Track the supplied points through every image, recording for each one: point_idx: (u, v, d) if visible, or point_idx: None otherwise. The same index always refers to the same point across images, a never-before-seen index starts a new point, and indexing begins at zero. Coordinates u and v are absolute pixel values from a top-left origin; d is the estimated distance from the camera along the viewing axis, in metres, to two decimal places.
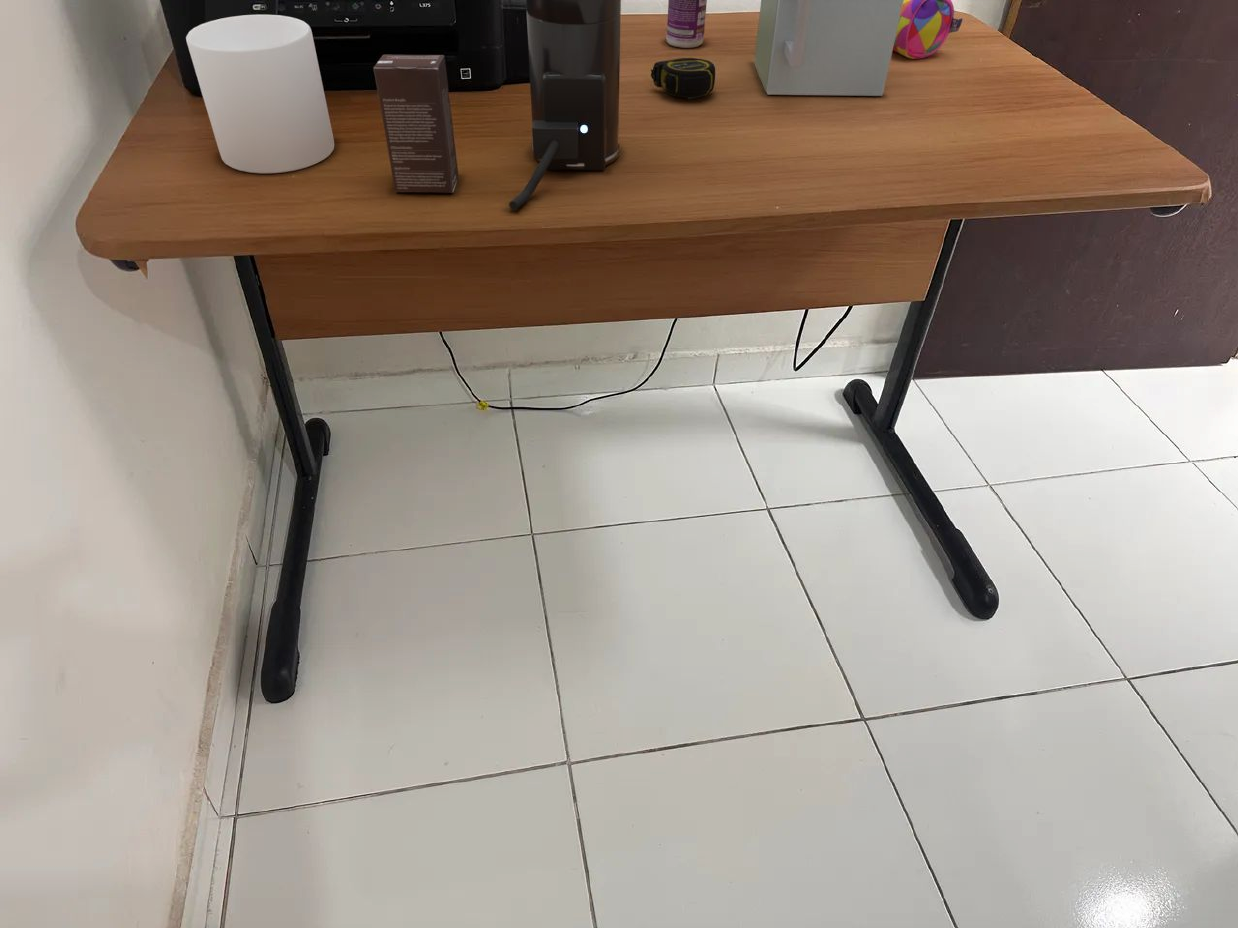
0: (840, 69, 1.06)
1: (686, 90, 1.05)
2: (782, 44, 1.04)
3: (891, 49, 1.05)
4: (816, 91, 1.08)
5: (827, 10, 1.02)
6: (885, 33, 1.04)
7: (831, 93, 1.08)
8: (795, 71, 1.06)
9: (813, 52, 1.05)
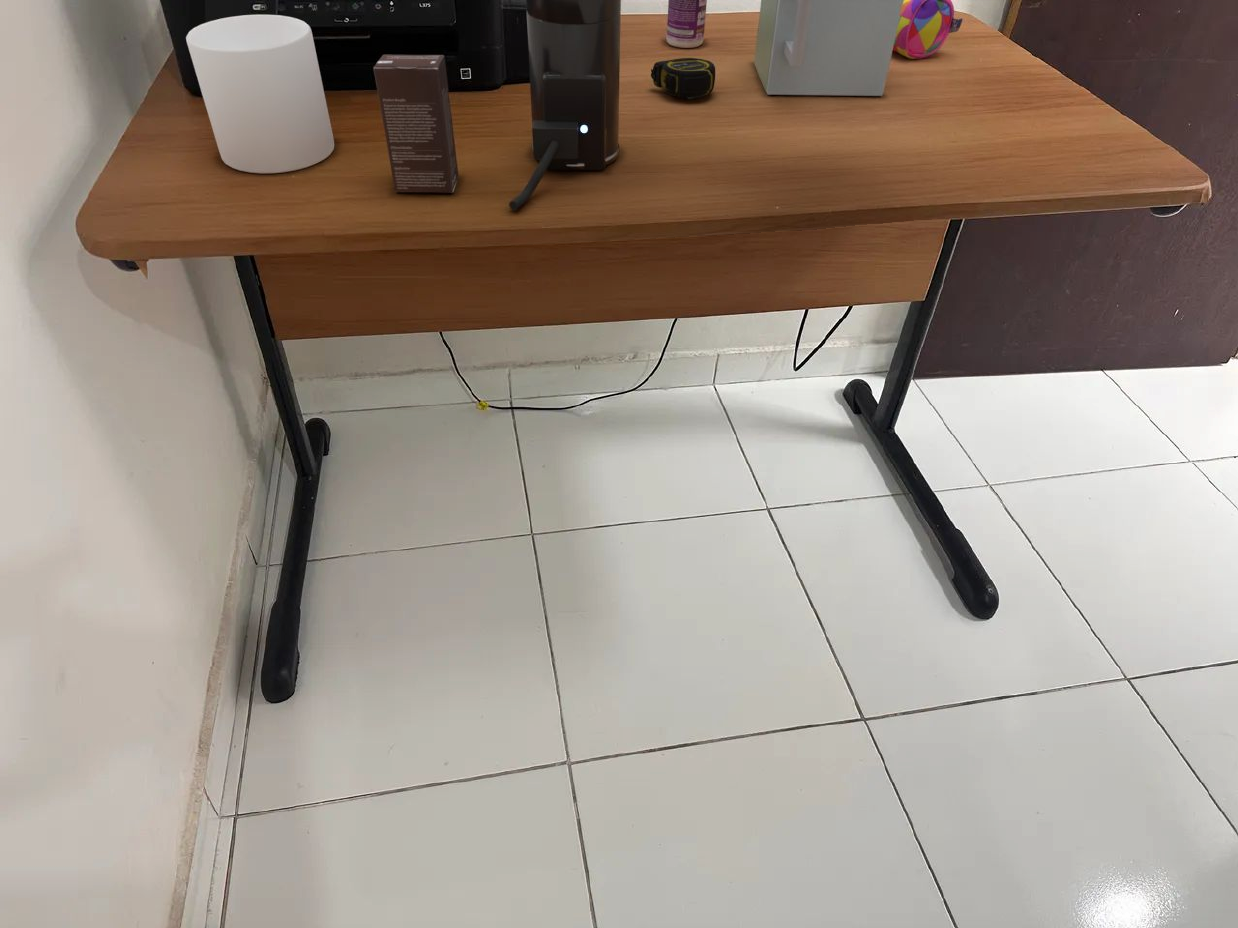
0: (840, 69, 1.06)
1: (686, 90, 1.05)
2: (782, 44, 1.04)
3: (891, 49, 1.05)
4: (816, 91, 1.08)
5: (827, 10, 1.02)
6: (885, 33, 1.04)
7: (831, 93, 1.08)
8: (795, 71, 1.06)
9: (813, 52, 1.05)
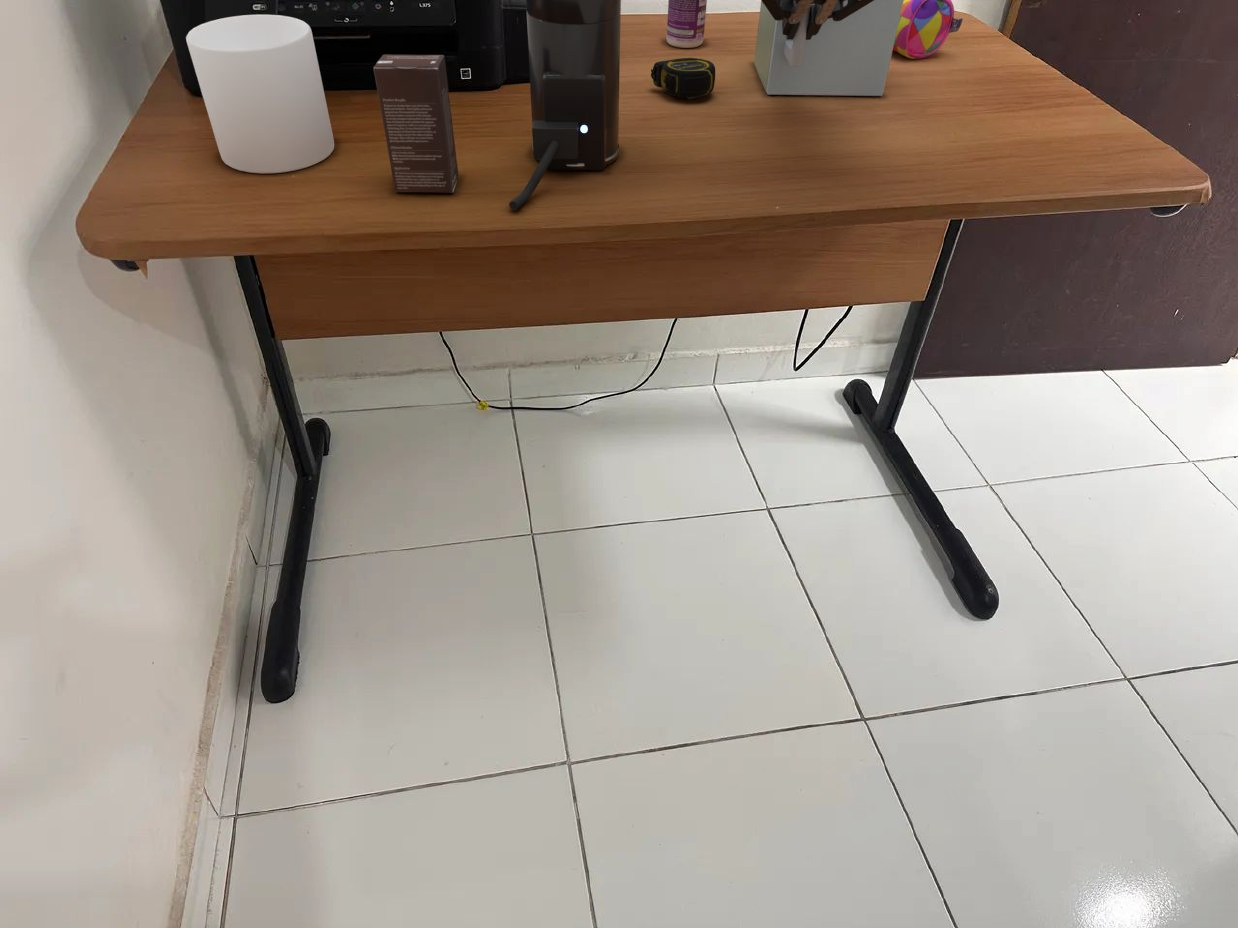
0: (840, 69, 1.06)
1: (686, 90, 1.05)
2: (782, 44, 1.04)
3: (891, 49, 1.05)
4: (816, 91, 1.08)
5: None
6: (885, 33, 1.04)
7: (831, 93, 1.08)
8: (795, 71, 1.06)
9: (813, 52, 1.05)
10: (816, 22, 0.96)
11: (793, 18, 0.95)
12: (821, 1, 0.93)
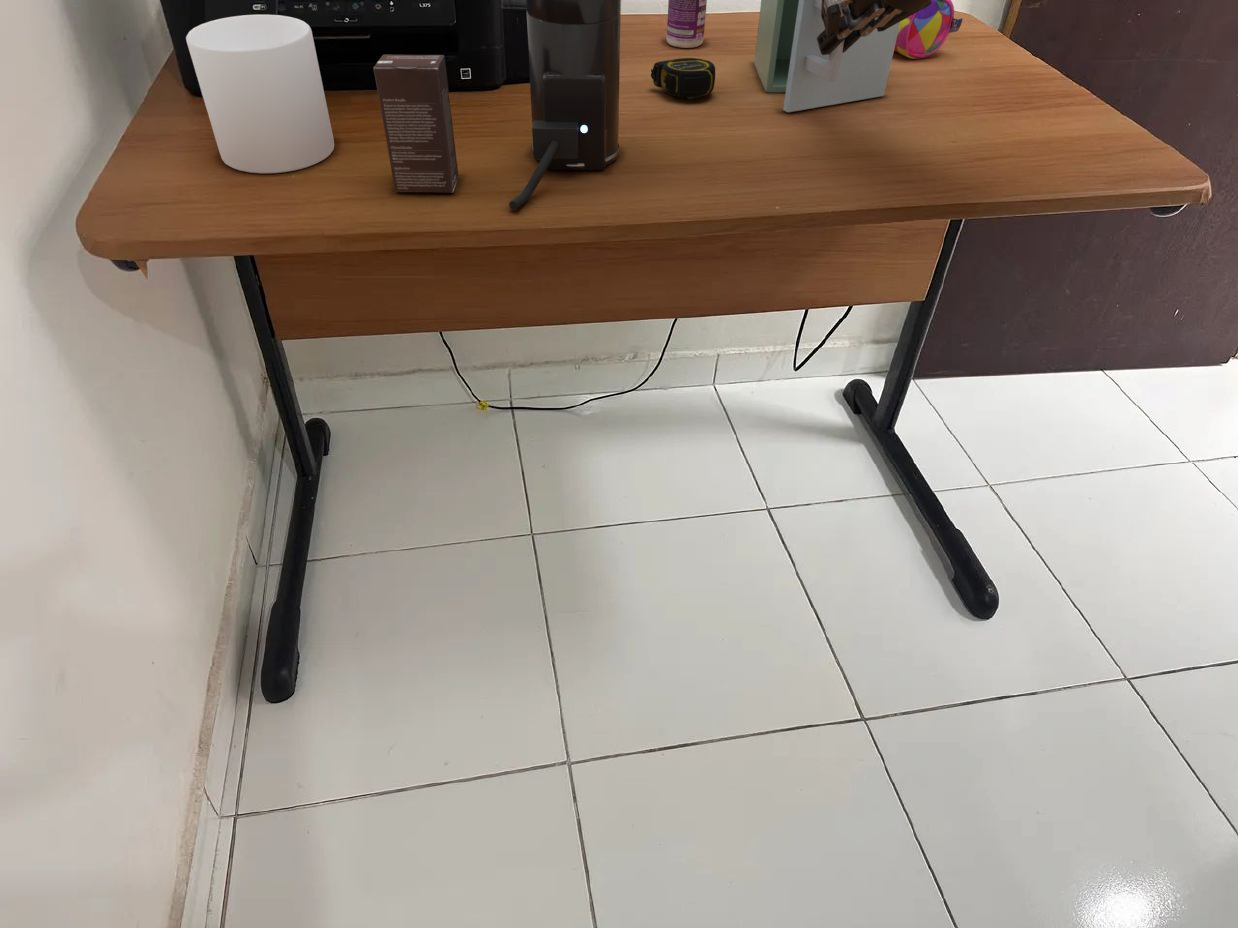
0: (850, 76, 1.05)
1: (686, 90, 1.05)
2: (802, 59, 1.00)
3: (893, 49, 1.05)
4: (829, 101, 1.06)
5: None
6: (889, 35, 1.03)
7: (842, 101, 1.06)
8: (812, 85, 1.03)
9: None
10: (861, 35, 0.93)
11: (844, 33, 0.92)
12: None
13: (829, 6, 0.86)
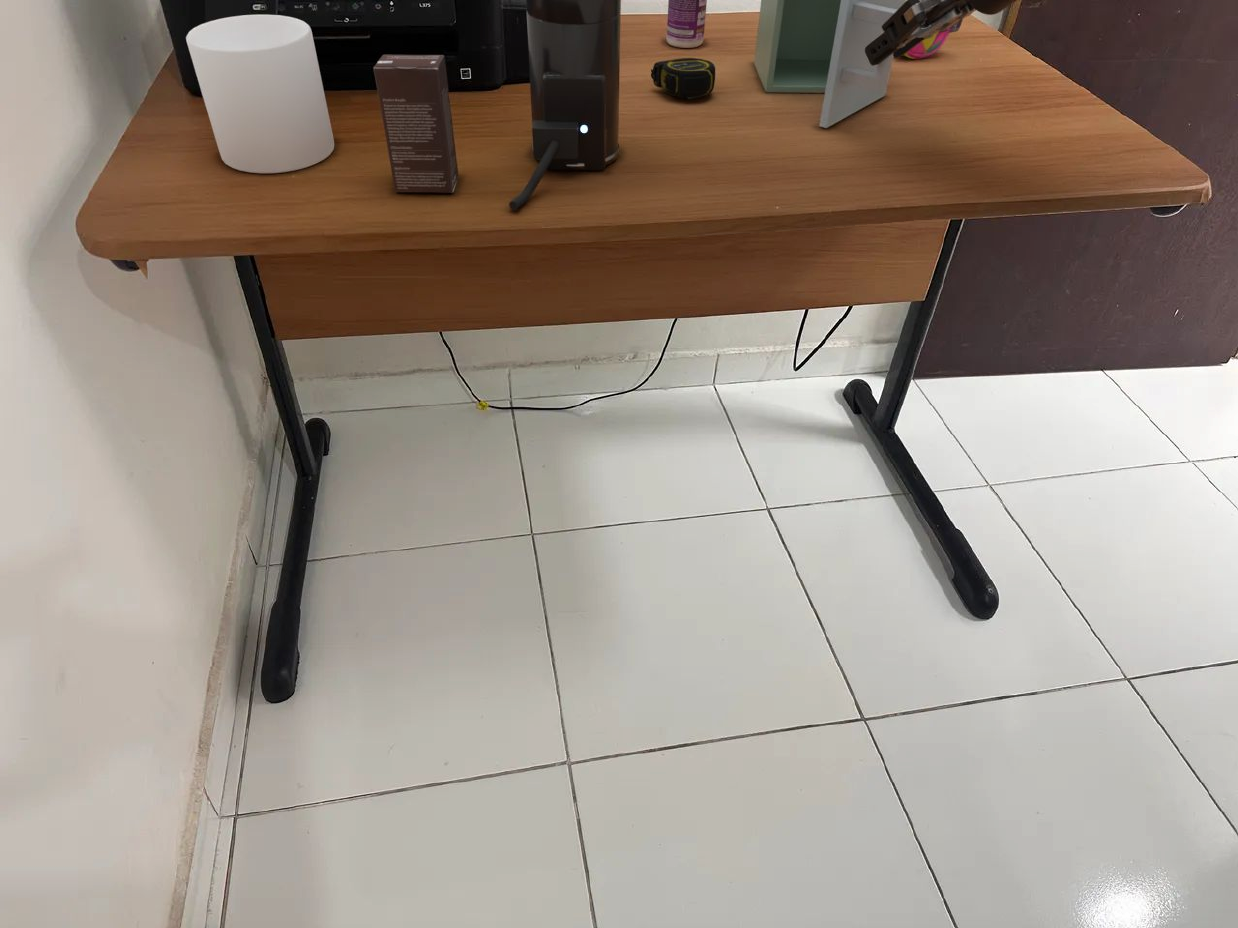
0: None
1: (686, 90, 1.05)
2: (840, 73, 0.97)
3: None
4: (852, 110, 1.04)
5: (868, 27, 0.97)
6: None
7: (860, 107, 1.05)
8: (844, 96, 1.00)
9: None
10: (926, 38, 0.93)
11: (905, 42, 0.90)
12: None
13: (919, 13, 0.83)
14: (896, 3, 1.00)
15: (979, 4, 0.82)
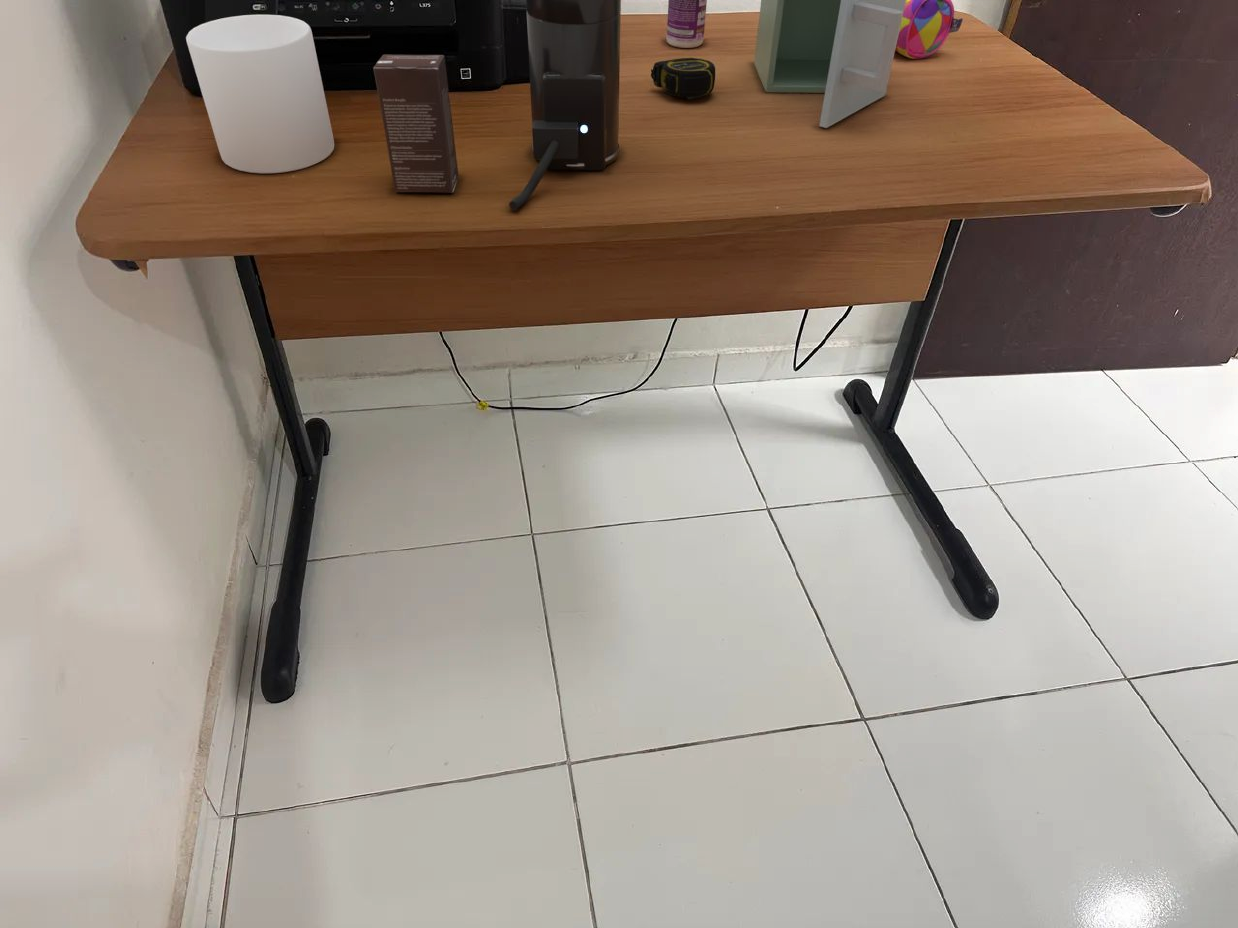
0: None
1: (686, 90, 1.05)
2: (840, 73, 0.97)
3: (894, 49, 1.05)
4: (852, 110, 1.04)
5: (868, 27, 0.97)
6: None
7: (860, 107, 1.05)
8: (844, 96, 1.00)
9: None
10: None
11: None
12: None
13: None
14: (896, 3, 1.00)
15: None
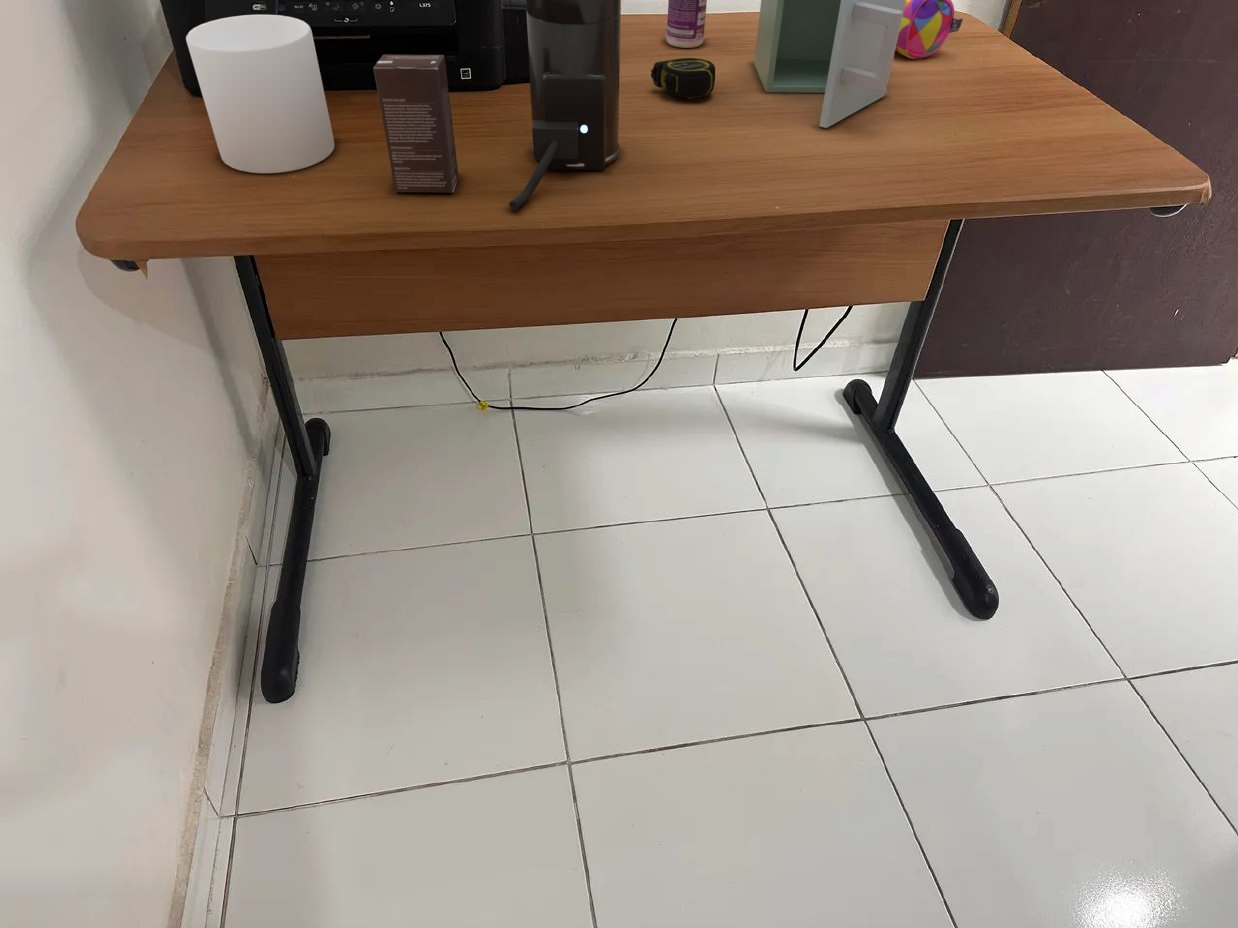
0: None
1: (686, 90, 1.05)
2: (840, 73, 0.97)
3: (894, 49, 1.05)
4: (852, 110, 1.04)
5: (868, 27, 0.97)
6: None
7: (860, 107, 1.05)
8: (844, 96, 1.00)
9: None
10: None
11: None
12: None
13: None
14: (896, 3, 1.00)
15: None
